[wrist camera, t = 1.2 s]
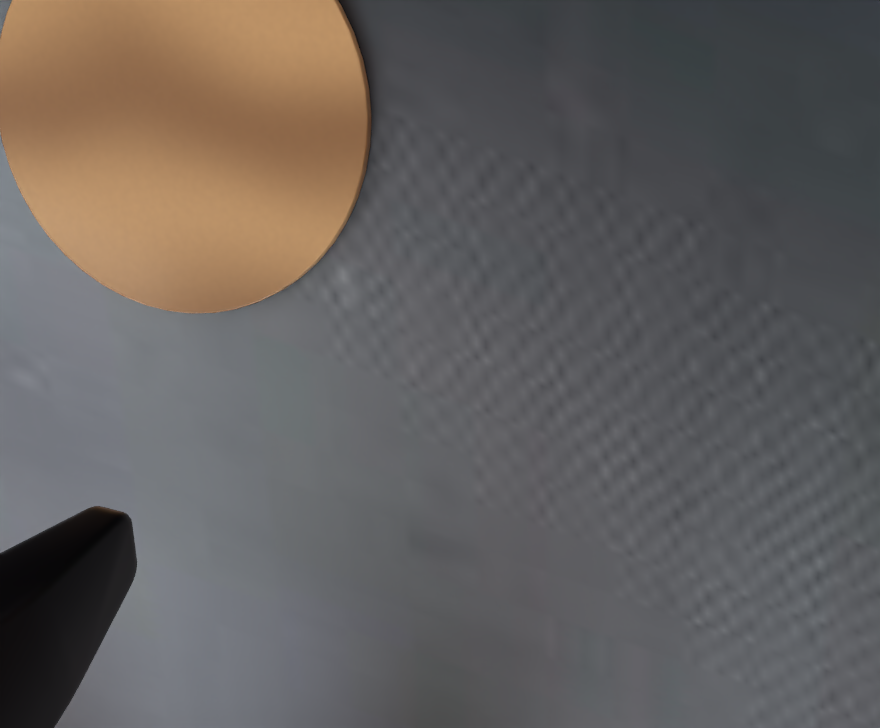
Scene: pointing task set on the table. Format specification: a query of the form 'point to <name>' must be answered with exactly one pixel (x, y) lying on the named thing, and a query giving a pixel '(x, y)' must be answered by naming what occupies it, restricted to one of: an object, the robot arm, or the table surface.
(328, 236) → the coaster
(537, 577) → the table surface
